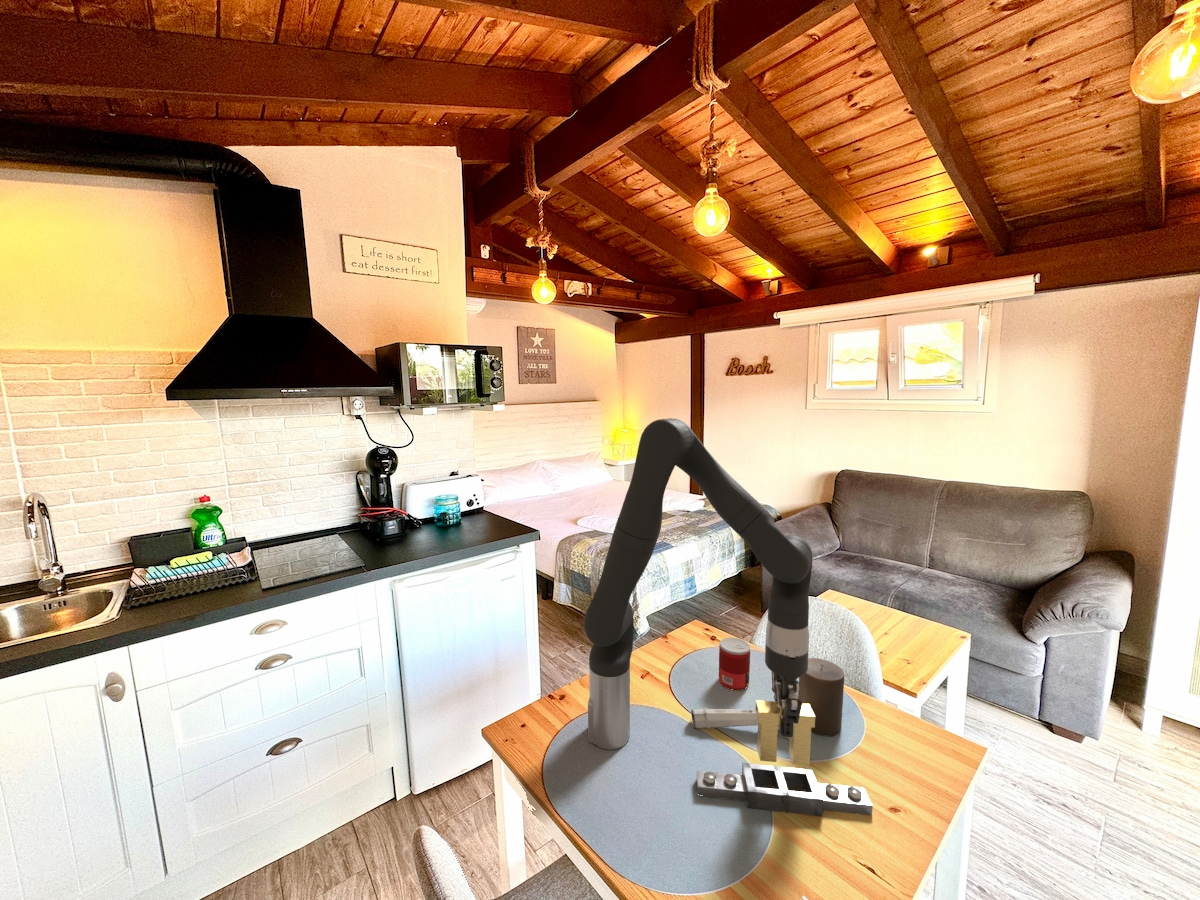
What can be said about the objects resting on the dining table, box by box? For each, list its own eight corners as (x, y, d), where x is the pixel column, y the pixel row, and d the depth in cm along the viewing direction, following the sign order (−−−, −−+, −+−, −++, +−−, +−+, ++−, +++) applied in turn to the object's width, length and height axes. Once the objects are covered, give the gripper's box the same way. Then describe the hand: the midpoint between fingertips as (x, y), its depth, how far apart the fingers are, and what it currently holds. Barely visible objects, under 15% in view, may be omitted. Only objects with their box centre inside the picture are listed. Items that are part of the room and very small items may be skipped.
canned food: (752, 691, 124) (754, 652, 123) (722, 691, 124) (723, 652, 123) (744, 674, 132) (745, 637, 131) (715, 674, 132) (716, 637, 131)
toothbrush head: (690, 703, 114) (798, 698, 111) (693, 728, 115) (800, 724, 111) (691, 718, 109) (804, 713, 106) (695, 744, 110) (807, 740, 106)
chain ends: (698, 802, 91) (698, 786, 91) (696, 773, 98) (696, 758, 98) (875, 822, 87) (876, 805, 86) (860, 790, 94) (861, 774, 93)
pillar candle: (836, 743, 106) (840, 680, 104) (791, 724, 112) (794, 665, 110) (844, 719, 114) (849, 661, 112) (802, 703, 120) (805, 647, 118)
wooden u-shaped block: (757, 761, 90) (759, 712, 89) (754, 747, 94) (755, 699, 92) (812, 766, 89) (815, 716, 88) (807, 752, 92) (809, 704, 91)
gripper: (758, 623, 96) (756, 702, 98) (774, 663, 82) (771, 754, 84) (797, 626, 95) (794, 705, 97) (820, 666, 81) (815, 758, 83)
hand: (783, 727), depth 90 cm, fingers closed on wooden u-shaped block, 3 cm apart
